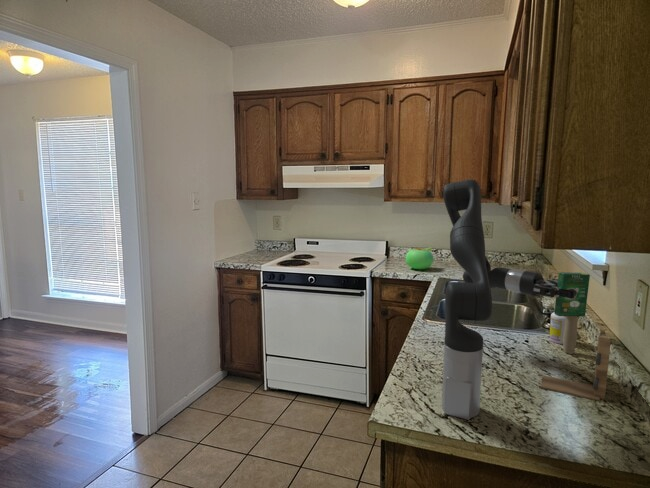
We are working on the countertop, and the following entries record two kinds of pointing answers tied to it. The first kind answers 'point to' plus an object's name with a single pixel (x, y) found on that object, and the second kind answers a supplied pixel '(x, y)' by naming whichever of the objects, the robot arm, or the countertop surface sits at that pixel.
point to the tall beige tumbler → (570, 334)
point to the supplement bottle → (557, 328)
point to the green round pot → (419, 258)
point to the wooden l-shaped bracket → (580, 388)
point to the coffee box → (580, 286)
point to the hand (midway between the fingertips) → (579, 292)
